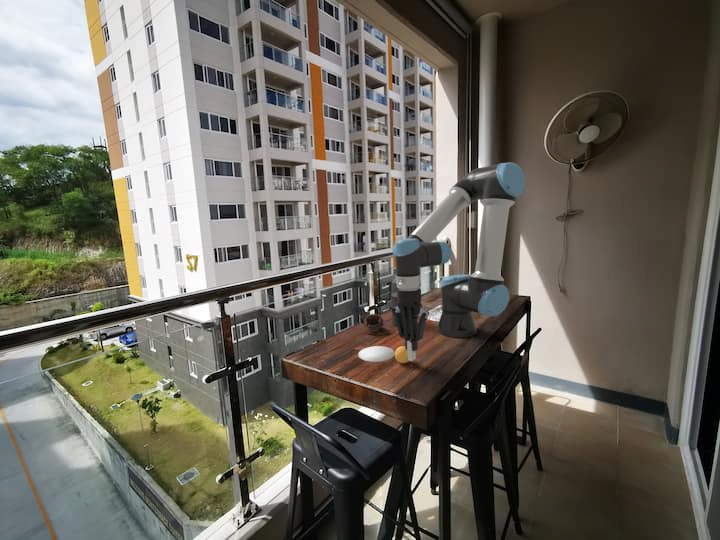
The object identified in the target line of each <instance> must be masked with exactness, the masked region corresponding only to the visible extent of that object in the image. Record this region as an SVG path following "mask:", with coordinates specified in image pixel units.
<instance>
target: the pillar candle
mask: <svg viewBox="0 0 720 540" xmlns="http://www.w3.org/2000/svg"><path fill="white" fill-rule="evenodd" d="M390 297H391V300H390V301H391V309H392V308H395V307H396V306H397V304H398V300H397V291H396V292H392V293H391V294H390ZM401 314H402V313H401ZM391 319H392V322H391V324H392V326H394V327H397V324H396V320H395V316H394V314H393V312H392V311H391Z"/></svg>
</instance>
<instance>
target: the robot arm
mask: <svg viewBox="0 0 720 540" xmlns="http://www.w3.org/2000/svg"><path fill="white" fill-rule="evenodd" d="M525 187H526V178H525V174H524V171H523V169H522V168H521V167H520V165H518V164H517V163H515V162H501V163H497V164H492V165H487V166H482V167H478V168H475V169H473V170H471V171H469V172H467V173H466V174H465V175H464V176H463V177H461V178H460V179H459V180H458V181H457V182H456V183H455V184H454V185H453V186H452V187H451V188H450V189H449V191H448V195H447V196H446V197H445V198H444V199H443V200H442V201H441V202H440V203H439V204H438V205H437V206H436V208H434V210H433V211H432V212H431V213H430V214H428V216H427V217H426V218H425V219H424V220H423V221H422V222H421V223H420V224H419V225H418V226H417V227H416V228H415V229H414V231H413V232H411V233H410V235H408V237H406V238H402V239H397V240H396V241H395V242H394V245H393V247H392V255H393V258H394V260H395V274H396V276H395V277H396V288H397V289H396V292H397V300H398V304H397V306H396V307H395V308H392V307H391V313H392V312H393V314H394V316H395V320H396V324H397V326H396V328H397V331H398V336H399V337H400V338H403V340H404V344H405V345H404V346H405V348H406V349H407V352H408V362H413V361H414V360H416V359H417V351H418V349H419V348H418V347H419V346H418V342H420V341H421V340H422V339H424V335H425V328H426V325H427V324H426V323H427V319H428V317H429V316H430V312H429V311H428V310H425V309H424V308H423V304H422V289H421V286H422V282H421V279H422V277H421V268H427V267H434V266H441V265H445V264H447V263H448V262H449V261H450V260H451V258H452V249H451V247H450V245H449V244H448V243H447V242H445V241H435V242H434V240H436V238H437V237H438V236H439V235H440V233H442V232H443V231H444V229H445V228H446V227H447V226H449V224H450V223H452V221H453V220H454V219H455V218H456V216H457V215H458V214H459V213H460V212H461V211H462V210H463V209H465V208H469V207H470V206H471V204H472V203H474V202H477V201H479V202H480V204H481V205H482V206H483V211H482V217H481V225H480V232H479V239H478V241H479V242H478V247H477V255H476V256H477V257H476V263H475V270H474V272H473V273H472V274H456V275H455V274H453V275H449V276H448V275H447V276H444V277H443V278H442V279H441V283H440V284H441V285H440V294H441V296H440V297H441V299H440V300H441V314H440V318H439V321H438V323H437V331H438V333H439V334H441V335H443V336H446V337H451V338H468V337H471V336H475V334H477V332H478V331H477V324H476V321H475V318H474V316H473V313H476V314H480V315H481V316H487V317H496V316H498V315H500V314H502V312H503V311H505V310H506V308H507V307H508V304H509V302H510V291H509V288H507V286H506V285H504V284H505V279H504V278H503V277H502V275H501V273H502V272H501V271H502V264H503V258H504V249H505V244H506V243H505V242H506V235H507V229H508V228H507V227H508V220H509V213H510V208H511V207H512V206H514V205H515V203H516V198H517V197H519V196H520V195H521V194H523V192H524V190H525ZM401 313H402V314H401Z"/></svg>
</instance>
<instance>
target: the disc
mask: <svg viewBox="0 0 720 540" xmlns="http://www.w3.org/2000/svg"><path fill="white" fill-rule="evenodd" d="M357 355H358V358H359V359H361V360H362V361H365V362H369V363H379V362H386V361H389V360H390V359H392V358H395V350H394V349H392V348H391V347H388V346H384V345H383V346H382V345H376V346H375V345H374V346H369V347H364V348H363V349H361V350H360V351H359V352H358V354H357Z"/></svg>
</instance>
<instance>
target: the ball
mask: <svg viewBox="0 0 720 540" xmlns="http://www.w3.org/2000/svg"><path fill="white" fill-rule="evenodd" d="M394 352H395V355H394V358H395V359H396V361H397V362H398V363H400V364H407V363H409V361H408V352H407V349H406V348H405V345H402V346H401V345H400V346H399V347H397V348H396V350H394Z"/></svg>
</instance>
